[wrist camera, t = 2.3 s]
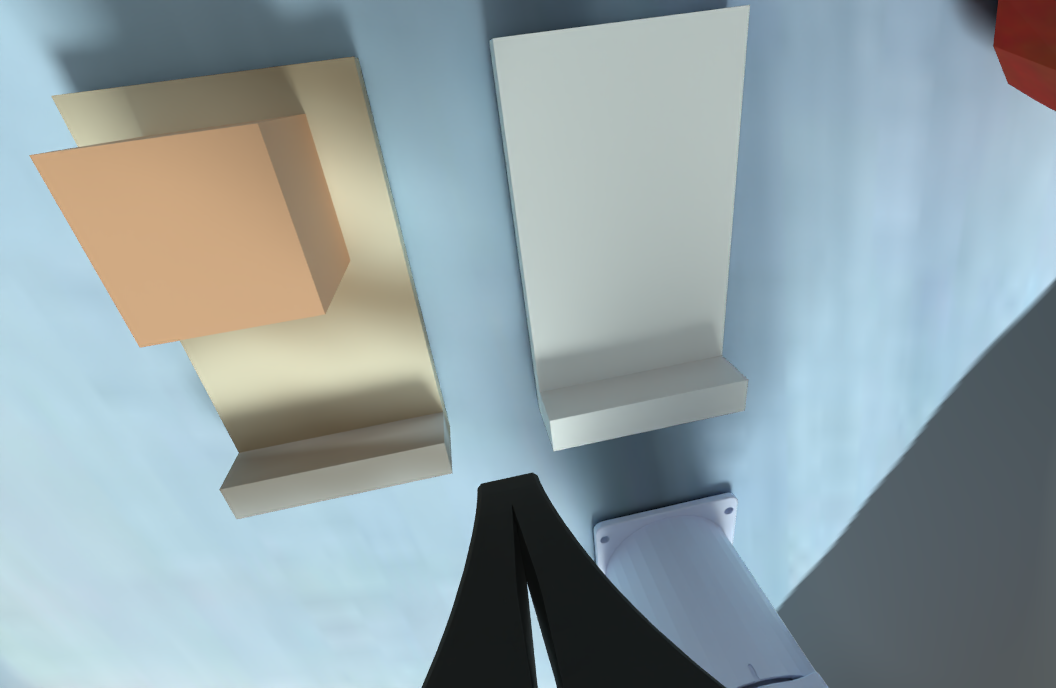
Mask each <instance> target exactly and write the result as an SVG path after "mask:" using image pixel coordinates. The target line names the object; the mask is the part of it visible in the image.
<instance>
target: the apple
mask: <svg viewBox="0 0 1056 688" xmlns="http://www.w3.org/2000/svg"><path fill="white" fill-rule="evenodd" d="M993 46H994V49H995V51H996V54H997V57H998V59H999V62H1000V64H1001V67H1002V69H1003V72H1004V74H1005V77H1006V79H1007V82H1008V84H1010V85H1011V86H1013V87H1015V88H1016V89H1018V90H1019V91H1021V92H1023V93H1024V94H1026V95H1028V96H1029V97H1031V98H1033V99H1034V100H1036V101H1038V102H1039V103H1041V104H1043V105H1045V106H1047V107H1049V108H1051V109H1052V110H1054V111H1056V0H998V8H997V17H996V26H995V35H994V45H993Z"/></svg>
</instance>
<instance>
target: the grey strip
mask: <svg viewBox="0 0 1056 688" xmlns="http://www.w3.org/2000/svg"><path fill="white" fill-rule="evenodd" d="M749 9H750V5H745V6H738V7H730V8H722V9H715V10H707V11H699V12H692V13H684V14H676V15H669V16H661V17H653V18H646V19H638V20H630V21H622V22H615V23H607V24H599V25H592V26H584V27H576V28H569V29H561V30H553V31H546V32H538V33H530V34H523V35H515V36H507V37H500V38H493V39H491V40H490V41H489V44H490V51H491V58H492V66H493V73H494V80H495V88H496V95H497V103H498V110H499V117H500V125H501V132H502V139H503V147H504V154H505V161H506V169H507V176H508V184H509V191H510V198H511V206H512V213H513V220H514V228H515V235H516V242H517V250H518V257H519V265H520V272H521V279H522V287H523V294H524V301H525V309H526V316H527V323H528V331H529V338H530V346H531V353H532V360H533V368H534V375H535V382H536V390H537V397H538V404H539V409H540V412H541V415H542V418H543V421H544V424H545V427H546V430H547V433H548V436H549V439H550V442H551V445H552V448H553V451H558V450H563V449H568V448H572V447H577V446H582V445H586V444H591V443H596V442H600V441H605V440H610V439H614V438H619V437H624V436H628V435H633V434H638V433H642V432H647V431H652V430H656V429H661V428H666V427H670V426H675V425H680V424H684V423H689V422H694V421H698V420H703V419H708V418H712V417H717V416H722V415H726V414H731V413H736V412H740V411H745V405H746V396H747V387H748V379H747V378H746V377H745V376H744V375H743V374H741V373H740V372H739V371H738V370H737V369H736V368H735V367H734V366H733V365H732V364H731V363H730V362H728V361H727V360H726V359H725V358H724V357H723V356H722V348H723V336H724V323H725V311H726V298H727V285H728V273H729V260H730V248H731V235H732V223H733V210H734V198H735V185H736V173H737V160H738V147H739V135H740V122H741V110H742V97H743V85H744V72H745V60H746V47H747V34H748V22H749Z"/></svg>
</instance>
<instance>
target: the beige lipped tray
mask: <svg viewBox="0 0 1056 688" xmlns="http://www.w3.org/2000/svg"><path fill="white" fill-rule="evenodd" d="M52 98H53V100H54V102H55V104H56V106H57V108H58V110H59V112H60V114H61V115H62V117H63V119H64V121H65V123H66V125H67V127H68V129H69V131H70V133H71V135H72V136H73V138H74V140H75V142H76V144H77V146H78V147H82V146H88V145H94V144H100V143H106V142H112V141H118V140H124V139H130V138H136V137H142V136H149V135H157V134H164V133H171V132H178V131H185V130H192V129H199V128H207V127H214V126H221V125H228V124H235V123H242V122H250V121H257V120H264V119H271V118H278V117H285V116H292V115H300V114H306V117H307V121H308V124H309V127H310V130H311V134H312V137H313V140H314V143H315V147H316V150H317V153H318V156H319V159H320V163H321V166H322V169H323V172H324V176H325V179H326V182H327V185H328V189H329V192H330V195H331V198H332V202H333V205H334V208H335V211H336V215H337V218H338V221H339V224H340V228H341V231H342V234H343V237H344V241H345V244H346V247H347V250H348V254H349V257H350V260H351V261H350V263H349V265H348V267H347V269H346V271H345V273H344V276H343V278H342V280H341V282H340V284H339V286H338V288H337V290H336V293H335V295H334V297H333V299H332V301H331V303H330V305H329V308H328V310H327V312H326V314H325V315H319V316H314V317H308V318H302V319H297V320H291V321H286V322H280V323H274V324H269V325H263V326H258V327H252V328H246V329H241V330H235V331H230V332H224V333H218V334H213V335H207V336H202V337H196V338H190V339H185V340H180V342H181V344H182V346H183V347H184V349H185V351H186V353H187V355H188V357H189V359H190V361H191V363H192V365H193V366H194V368H195V370H196V372H197V374H198V376H199V378H200V380H201V382H202V384H203V385H204V387H205V389H206V391H207V393H208V395H209V397H210V399H211V401H212V403H213V404H214V406H215V408H216V410H217V412H218V414H219V416H220V418H221V420H222V422H223V424H224V425H225V427H226V429H227V431H228V433H229V435H230V437H231V439H232V441H233V443H234V444H235V446H236V448H237V450H238V452H239V454H238V456H237V458H236V459H235V461H234V463H233V465H232V467H231V469H230V471H229V473H228V475H227V477H226V478H225V480H224V482H223V484H222V486H221V488H220V491H221V493H222V495H223V496H224V498H225V500H226V502H227V503H228V505H229V507H230V509H231V510H232V512H233V514H234V515H235V517H236V519H241V518H245V517H250V516H255V515H259V514H264V513H269V512H273V511H278V510H283V509H287V508H292V507H297V506H301V505H306V504H311V503H315V502H320V501H325V500H329V499H334V498H339V497H343V496H348V495H353V494H357V493H362V492H367V491H371V490H376V489H381V488H385V487H390V486H395V485H399V484H404V483H409V482H413V481H418V480H423V479H427V478H432V477H437V476H441V475H446V474H451V473H452V459H451V440H450V425H449V421H448V417H447V413H446V409H445V405H444V401H443V397H442V393H441V389H440V385H439V381H438V377H437V373H436V369H435V365H434V361H433V357H432V353H431V349H430V345H429V341H428V337H427V333H426V329H425V325H424V321H423V317H422V313H421V309H420V305H419V301H418V297H417V293H416V289H415V285H414V281H413V277H412V273H411V269H410V265H409V260H408V256H407V252H406V248H405V244H404V240H403V236H402V232H401V228H400V224H399V220H398V216H397V212H396V208H395V204H394V200H393V196H392V192H391V188H390V184H389V180H388V176H387V172H386V168H385V164H384V160H383V156H382V152H381V148H380V144H379V140H378V136H377V132H376V128H375V124H374V120H373V116H372V112H371V108H370V104H369V100H368V96H367V92H366V88H365V84H364V80H363V76H362V72H361V68H360V64H359V60H358V58H356V57H346V58H338V59H331V60H323V61H315V62H308V63H300V64H292V65H285V66H277V67H269V68H262V69H254V70H246V71H239V72H231V73H223V74H216V75H208V76H200V77H193V78H185V79H177V80H169V81H162V82H154V83H146V84H139V85H131V86H123V87H116V88H108V89H100V90H93V91H85V92H77V93H70V94H62V95H54V96H52Z"/></svg>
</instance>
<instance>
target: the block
mask: <svg viewBox="0 0 1056 688" xmlns="http://www.w3.org/2000/svg"><path fill="white" fill-rule="evenodd" d="M29 156H30V157H31V159H32V161H33V163H34V164H35V166H36V168H37V170H38V171H39V173H40V175H41V177H42V178H43V180H44V182H45V183H46V185H47V187H48V189H49V190H50V192H51V194H52V196H53V197H54V199H55V201H56V203H57V204H58V206H59V208H60V210H61V211H62V213H63V215H64V217H65V218H66V220H67V222H68V223H69V225H70V227H71V229H72V230H73V232H74V234H75V236H76V237H77V239H78V241H79V243H80V244H81V246H82V248H83V250H84V251H85V253H86V255H87V257H88V258H89V260H90V262H91V263H92V265H93V267H94V269H95V270H96V272H97V274H98V276H99V277H100V279H101V281H102V283H103V284H104V286H105V288H106V290H107V291H108V293H109V295H110V297H111V298H112V300H113V302H114V303H115V305H116V307H117V309H118V310H119V312H120V314H121V316H122V317H123V319H124V321H125V323H126V324H127V326H128V328H129V330H130V331H131V333H132V335H133V337H134V338H135V340H136V342H137V343H138V345H139V347H146V346H151V345H157V344H162V343H168V342H174V341H179V340H185V339H190V338H196V337H202V336H207V335H213V334H218V333H224V332H230V331H235V330H241V329H246V328H252V327H258V326H263V325H269V324H274V323H280V322H286V321H291V320H297V319H302V318H308V317H314V316H319V315H325V314H326V312H327V310H328V308H329V305H330V303H331V301H332V299H333V297H334V295H335V293H336V290H337V288H338V286H339V284H340V282H341V280H342V278H343V276H344V273H345V271H346V269H347V267H348V265H349V263H350V261H351V260H350V257H349V254H348V250H347V247H346V244H345V241H344V237H343V234H342V231H341V228H340V224H339V221H338V218H337V215H336V211H335V208H334V205H333V202H332V198H331V195H330V192H329V189H328V185H327V182H326V179H325V176H324V172H323V169H322V166H321V163H320V159H319V156H318V153H317V150H316V147H315V143H314V140H313V137H312V134H311V130H310V127H309V124H308V121H307V117H306V114H300V115H292V116H285V117H278V118H271V119H264V120H257V121H250V122H242V123H235V124H228V125H221V126H214V127H207V128H199V129H192V130H185V131H178V132H171V133H164V134H157V135H149V136H142V137H136V138H130V139H124V140H118V141H112V142H106V143H100V144H94V145H88V146H82V147H76V148H70V149H64V150H58V151H52V152H46V153H40V154H34V155H29Z"/></svg>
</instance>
